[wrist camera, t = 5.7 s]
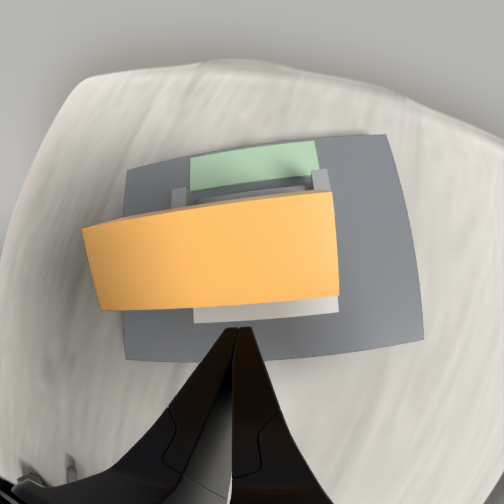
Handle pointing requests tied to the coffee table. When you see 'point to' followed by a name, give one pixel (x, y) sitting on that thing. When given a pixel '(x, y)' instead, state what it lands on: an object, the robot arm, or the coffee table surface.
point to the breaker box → (348, 251)
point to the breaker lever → (218, 252)
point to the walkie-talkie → (70, 478)
